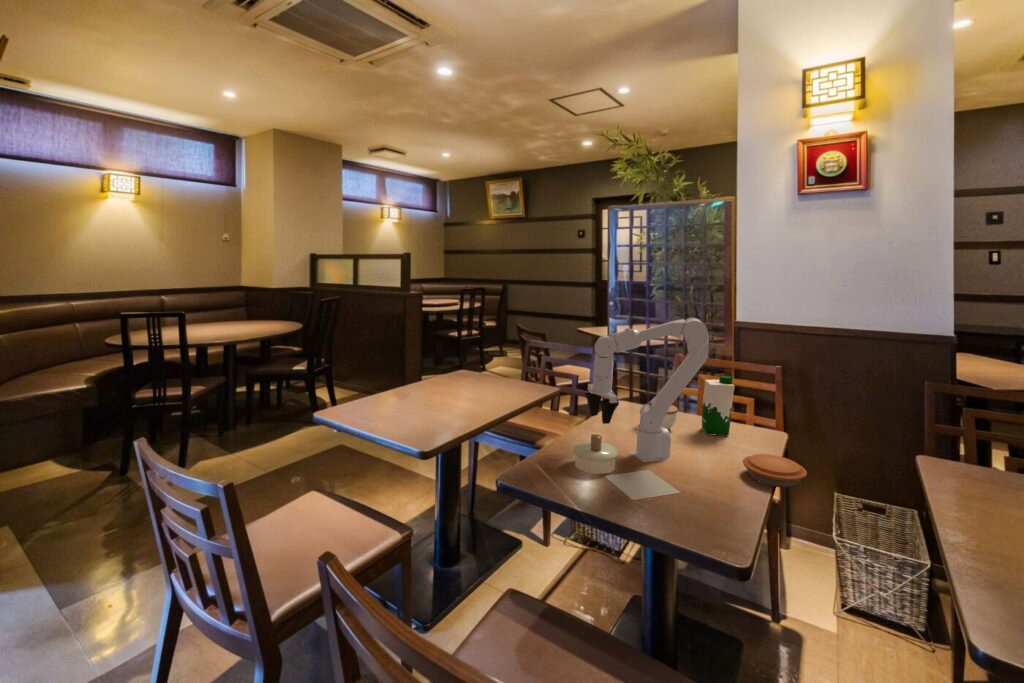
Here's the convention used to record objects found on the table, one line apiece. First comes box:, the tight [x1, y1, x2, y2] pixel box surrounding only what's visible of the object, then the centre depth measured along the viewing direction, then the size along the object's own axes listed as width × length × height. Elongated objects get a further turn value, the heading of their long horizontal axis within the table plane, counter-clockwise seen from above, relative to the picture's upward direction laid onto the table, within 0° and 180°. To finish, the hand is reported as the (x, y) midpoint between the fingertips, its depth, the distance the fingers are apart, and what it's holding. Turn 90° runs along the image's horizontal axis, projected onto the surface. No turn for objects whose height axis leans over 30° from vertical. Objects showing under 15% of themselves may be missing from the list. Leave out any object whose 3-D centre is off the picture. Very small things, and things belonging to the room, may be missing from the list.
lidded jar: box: [661, 404, 679, 431], centre depth 171 cm, size 11×11×9 cm
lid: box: [573, 433, 619, 461], centre depth 136 cm, size 12×12×5 cm
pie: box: [742, 453, 808, 488], centre depth 132 cm, size 15×16×5 cm
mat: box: [603, 469, 682, 501], centre depth 126 cm, size 14×14×1 cm
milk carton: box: [701, 375, 736, 436], centre depth 167 cm, size 9×9×20 cm
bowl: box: [574, 454, 616, 475], centre depth 136 cm, size 11×11×4 cm
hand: (599, 419), depth 147 cm, fingers open, 7 cm apart
